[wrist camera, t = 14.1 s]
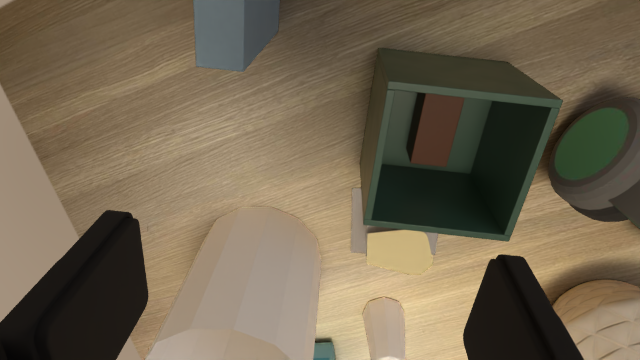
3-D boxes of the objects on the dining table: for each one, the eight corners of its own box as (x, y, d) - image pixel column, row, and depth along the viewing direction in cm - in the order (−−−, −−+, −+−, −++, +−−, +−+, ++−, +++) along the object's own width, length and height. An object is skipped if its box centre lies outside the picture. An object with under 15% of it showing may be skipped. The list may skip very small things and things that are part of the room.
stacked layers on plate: (350, 252, 51) (351, 284, 46) (352, 187, 47) (352, 215, 42) (434, 254, 51) (444, 286, 46) (444, 189, 46) (455, 216, 42)
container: (202, 200, 49) (132, 319, 33) (326, 211, 49) (315, 337, 33) (208, 294, 56) (153, 430, 40) (317, 304, 55) (305, 445, 40)
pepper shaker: (405, 296, 54) (417, 371, 44) (403, 326, 57) (415, 404, 47) (362, 296, 54) (365, 370, 45) (362, 326, 57) (366, 403, 47)
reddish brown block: (419, 81, 40) (425, 92, 37) (456, 85, 40) (465, 96, 37) (405, 148, 44) (410, 163, 41) (439, 152, 44) (446, 167, 41)
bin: (378, 47, 40) (388, 80, 29) (507, 62, 40) (563, 100, 29) (359, 163, 46) (363, 225, 35) (472, 176, 45) (509, 241, 35)
